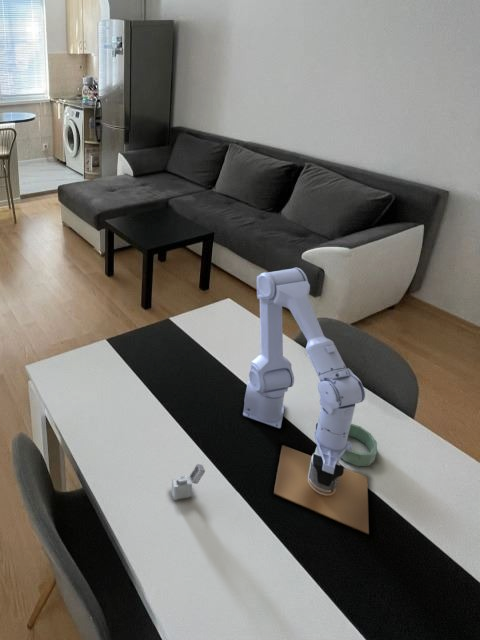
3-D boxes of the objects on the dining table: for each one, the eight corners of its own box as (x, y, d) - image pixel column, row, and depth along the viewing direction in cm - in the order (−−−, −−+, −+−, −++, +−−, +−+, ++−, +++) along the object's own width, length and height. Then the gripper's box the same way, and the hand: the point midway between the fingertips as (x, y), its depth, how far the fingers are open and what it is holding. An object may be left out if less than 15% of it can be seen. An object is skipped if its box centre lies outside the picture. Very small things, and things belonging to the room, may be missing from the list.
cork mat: (273, 494, 96) (273, 492, 96) (281, 446, 107) (282, 444, 107) (368, 534, 87) (368, 533, 87) (366, 477, 98) (367, 476, 98)
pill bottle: (339, 498, 94) (347, 467, 90) (311, 494, 95) (317, 463, 92) (330, 474, 99) (337, 443, 96) (304, 471, 100) (309, 440, 97)
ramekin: (329, 455, 104) (332, 445, 103) (331, 427, 111) (333, 417, 110) (374, 472, 100) (377, 461, 98) (373, 442, 107) (376, 431, 105)
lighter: (174, 500, 96) (174, 475, 93) (171, 492, 98) (172, 468, 95) (203, 494, 97) (205, 469, 94) (200, 487, 99) (202, 462, 96)
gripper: (356, 458, 83) (344, 506, 88) (356, 406, 94) (345, 450, 99) (315, 444, 86) (306, 490, 91) (319, 395, 98) (311, 438, 103)
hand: (324, 468), depth 95 cm, fingers open, 7 cm apart
